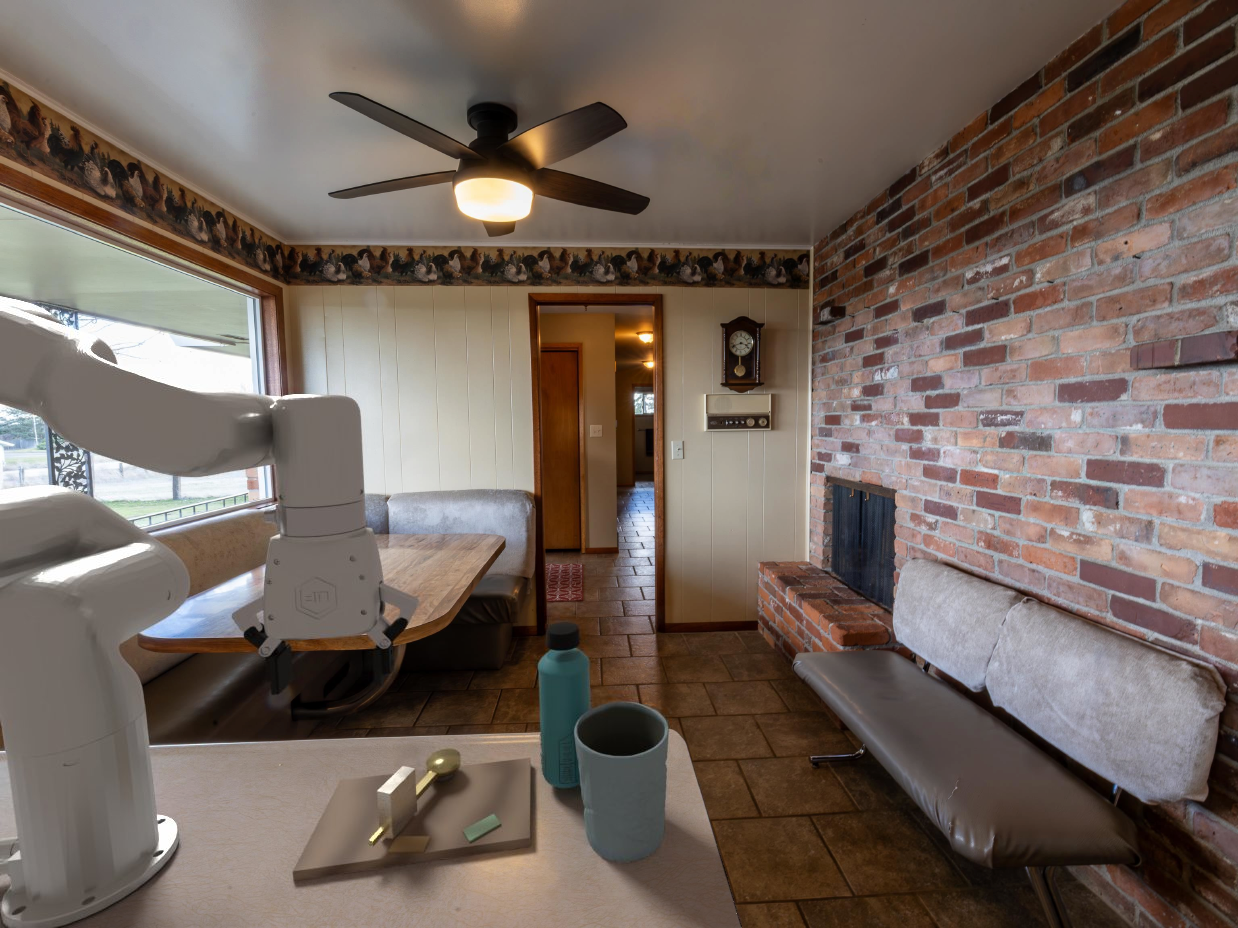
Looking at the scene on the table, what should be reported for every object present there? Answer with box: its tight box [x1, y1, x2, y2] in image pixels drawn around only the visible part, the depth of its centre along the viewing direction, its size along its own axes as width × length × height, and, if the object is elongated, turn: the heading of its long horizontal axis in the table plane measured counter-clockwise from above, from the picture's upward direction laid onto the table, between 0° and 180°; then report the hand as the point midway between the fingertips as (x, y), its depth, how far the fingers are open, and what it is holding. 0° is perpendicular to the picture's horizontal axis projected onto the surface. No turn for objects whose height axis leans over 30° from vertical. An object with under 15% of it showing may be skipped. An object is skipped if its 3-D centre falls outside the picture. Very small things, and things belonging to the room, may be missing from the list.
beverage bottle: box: [537, 621, 593, 789], centre depth 64 cm, size 6×7×20 cm
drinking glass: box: [574, 701, 670, 864], centre depth 57 cm, size 10×10×12 cm
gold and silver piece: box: [369, 748, 462, 847], centre depth 59 cm, size 14×4×5 cm, turn 164°
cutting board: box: [292, 757, 532, 881], centre depth 60 cm, size 23×13×2 cm, turn 99°
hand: (333, 683), depth 54 cm, fingers open, 9 cm apart
